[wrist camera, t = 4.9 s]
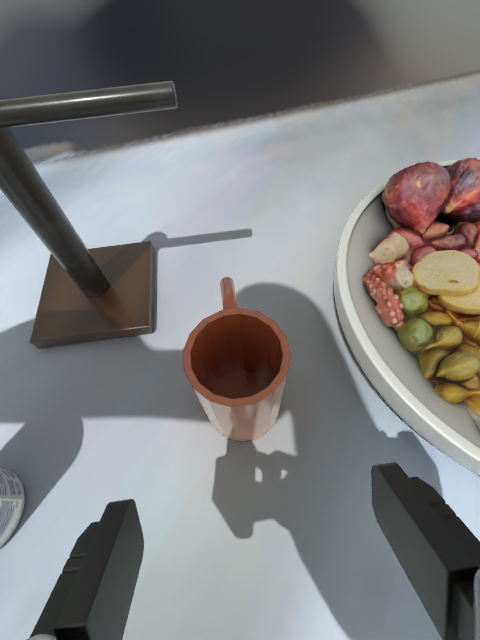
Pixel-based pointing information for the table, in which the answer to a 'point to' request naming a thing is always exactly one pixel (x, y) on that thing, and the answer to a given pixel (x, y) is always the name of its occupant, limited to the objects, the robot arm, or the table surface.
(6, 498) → the energy drink
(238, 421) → the mug
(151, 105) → the hook stand
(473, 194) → the bowl
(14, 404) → the table surface
